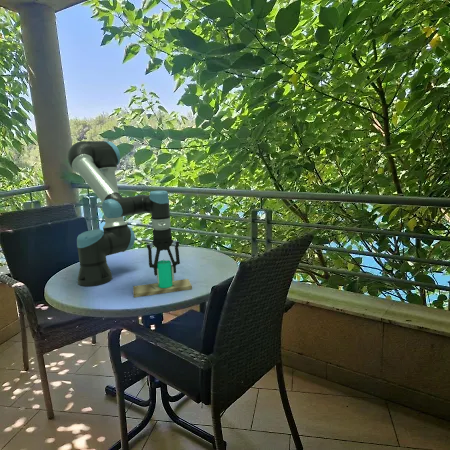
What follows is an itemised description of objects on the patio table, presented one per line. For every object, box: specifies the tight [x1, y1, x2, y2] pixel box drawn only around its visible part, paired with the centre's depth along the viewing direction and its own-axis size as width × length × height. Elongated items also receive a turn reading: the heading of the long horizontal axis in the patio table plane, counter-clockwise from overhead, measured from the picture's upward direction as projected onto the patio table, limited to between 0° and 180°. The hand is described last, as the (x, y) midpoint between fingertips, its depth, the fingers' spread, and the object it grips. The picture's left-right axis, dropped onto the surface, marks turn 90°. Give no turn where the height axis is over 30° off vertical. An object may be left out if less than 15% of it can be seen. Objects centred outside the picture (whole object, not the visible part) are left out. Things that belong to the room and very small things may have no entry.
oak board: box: [132, 278, 193, 298], centre depth 144 cm, size 24×9×2 cm, turn 106°
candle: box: [157, 258, 172, 288], centre depth 143 cm, size 6×6×12 cm
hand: (165, 281), depth 144 cm, fingers closed on candle, 5 cm apart
